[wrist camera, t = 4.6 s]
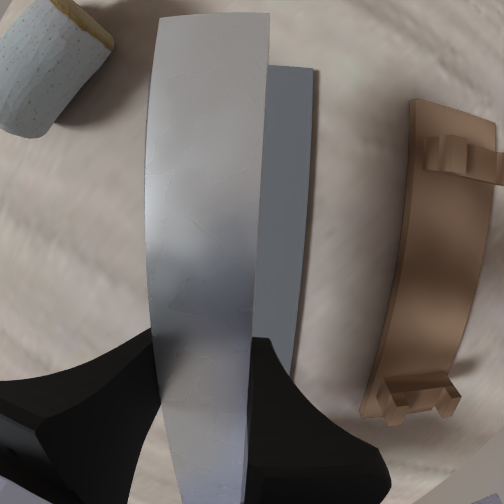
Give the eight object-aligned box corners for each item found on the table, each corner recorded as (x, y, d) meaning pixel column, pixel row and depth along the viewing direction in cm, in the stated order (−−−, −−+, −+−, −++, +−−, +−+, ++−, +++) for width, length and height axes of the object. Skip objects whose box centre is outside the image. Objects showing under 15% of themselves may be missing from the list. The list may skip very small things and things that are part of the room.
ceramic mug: (138, 54, 16) (78, 9, 9) (62, 143, 18) (-16, 140, 11) (72, -4, 15) (18, -40, 7) (11, 71, 17) (-52, 56, 9)
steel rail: (242, 489, 15) (239, 521, 12) (193, 483, 15) (186, 514, 12) (269, 45, 9) (269, 13, 6) (182, 46, 9) (159, 18, 6)
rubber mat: (279, 434, 24) (279, 437, 23) (168, 423, 24) (166, 426, 24) (312, 70, 16) (313, 68, 16) (152, 71, 17) (150, 69, 16)
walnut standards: (427, 403, 22) (445, 435, 18) (359, 410, 23) (370, 448, 18) (487, 124, 16) (526, 120, 12) (409, 101, 16) (443, 87, 12)
